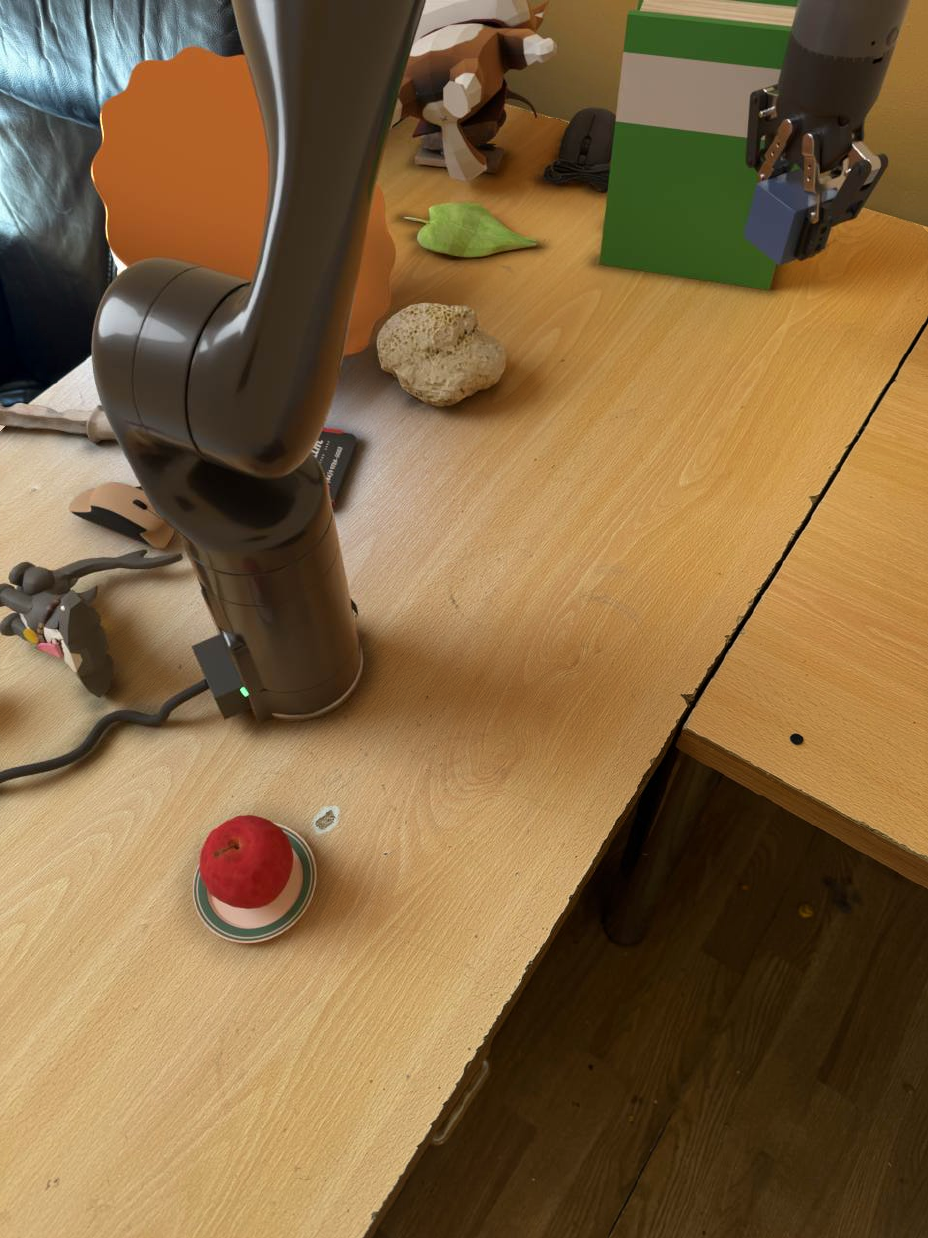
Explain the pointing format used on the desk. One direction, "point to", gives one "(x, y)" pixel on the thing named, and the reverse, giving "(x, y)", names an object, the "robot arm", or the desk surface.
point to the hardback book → (691, 137)
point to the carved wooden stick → (59, 420)
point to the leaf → (467, 231)
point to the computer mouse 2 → (585, 150)
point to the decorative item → (439, 353)
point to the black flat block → (335, 458)
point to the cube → (778, 216)
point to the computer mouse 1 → (123, 513)
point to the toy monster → (68, 613)
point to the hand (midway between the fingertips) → (784, 239)
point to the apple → (253, 879)
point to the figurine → (475, 135)
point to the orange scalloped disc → (206, 177)
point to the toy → (467, 70)
